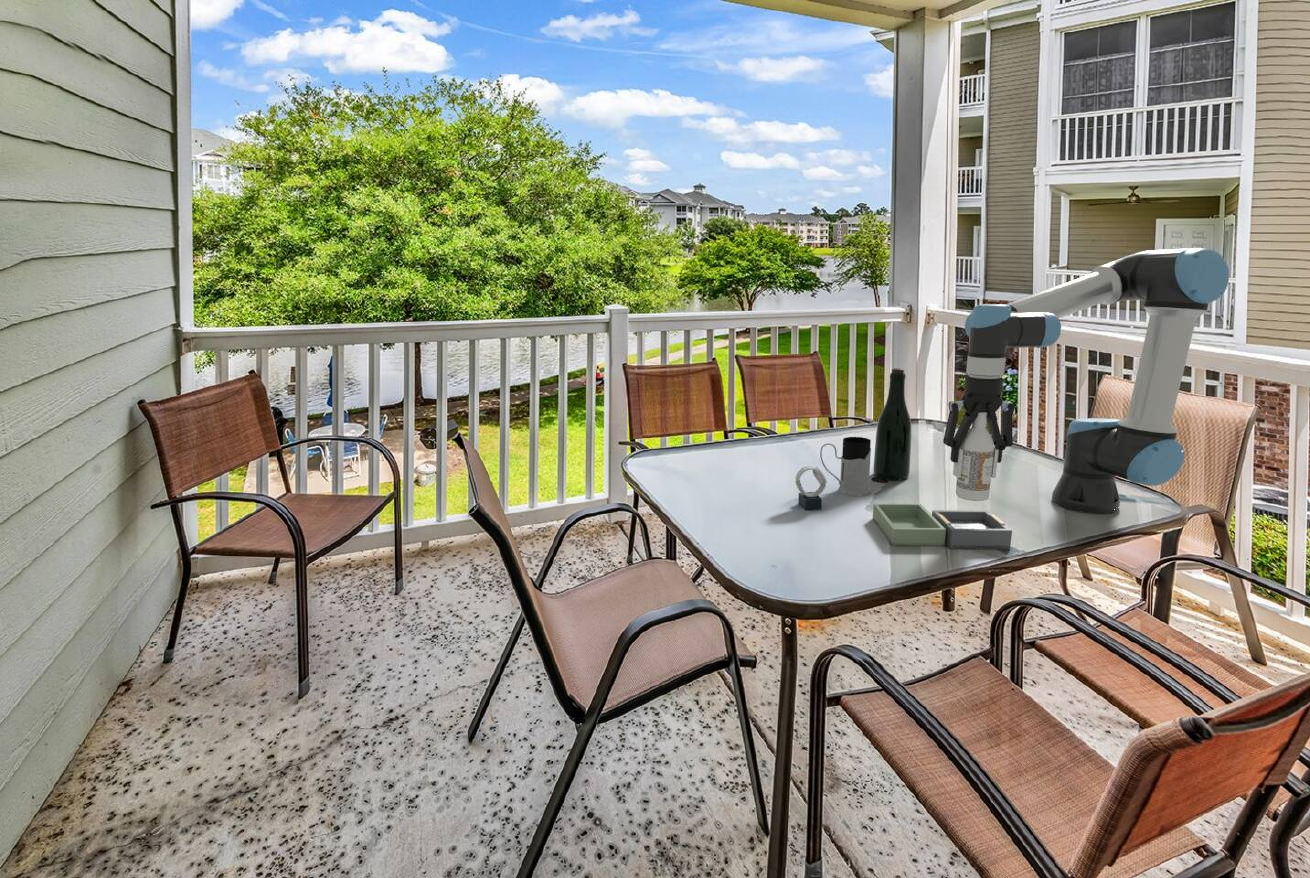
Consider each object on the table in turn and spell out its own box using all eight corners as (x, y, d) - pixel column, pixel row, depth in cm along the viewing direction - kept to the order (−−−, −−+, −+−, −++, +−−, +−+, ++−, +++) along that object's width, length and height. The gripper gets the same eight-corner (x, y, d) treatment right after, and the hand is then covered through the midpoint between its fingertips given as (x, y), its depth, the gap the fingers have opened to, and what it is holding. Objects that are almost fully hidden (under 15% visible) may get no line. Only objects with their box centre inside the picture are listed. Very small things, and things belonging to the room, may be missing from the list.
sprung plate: (982, 524, 162) (982, 521, 162) (1000, 540, 152) (1001, 536, 152) (939, 524, 163) (940, 520, 162) (955, 539, 153) (955, 536, 153)
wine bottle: (875, 480, 202) (882, 370, 195) (870, 471, 212) (876, 366, 205) (912, 481, 201) (920, 371, 193) (905, 472, 211) (913, 366, 203)
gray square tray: (985, 528, 164) (987, 509, 163) (1010, 549, 151) (1012, 529, 150) (930, 528, 165) (932, 509, 163) (950, 549, 152) (952, 528, 151)
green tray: (919, 518, 171) (920, 503, 170) (944, 546, 154) (945, 529, 153) (872, 518, 171) (873, 503, 170) (892, 545, 154) (893, 529, 153)
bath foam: (977, 503, 151) (986, 415, 146) (949, 495, 156) (957, 410, 152) (994, 498, 154) (1004, 412, 150) (966, 490, 160) (975, 407, 155)
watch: (828, 509, 179) (830, 469, 176) (799, 511, 178) (800, 470, 175) (820, 502, 184) (821, 463, 182) (791, 504, 183) (793, 465, 181)
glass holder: (872, 496, 189) (875, 444, 185) (819, 494, 191) (821, 442, 188) (868, 486, 197) (870, 436, 193) (817, 485, 199) (819, 435, 196)
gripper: (1023, 373, 152) (1011, 471, 157) (932, 373, 153) (924, 471, 158) (1039, 378, 145) (1026, 481, 150) (944, 378, 146) (935, 480, 151)
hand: (974, 475), depth 154 cm, fingers closed on bath foam, 7 cm apart
